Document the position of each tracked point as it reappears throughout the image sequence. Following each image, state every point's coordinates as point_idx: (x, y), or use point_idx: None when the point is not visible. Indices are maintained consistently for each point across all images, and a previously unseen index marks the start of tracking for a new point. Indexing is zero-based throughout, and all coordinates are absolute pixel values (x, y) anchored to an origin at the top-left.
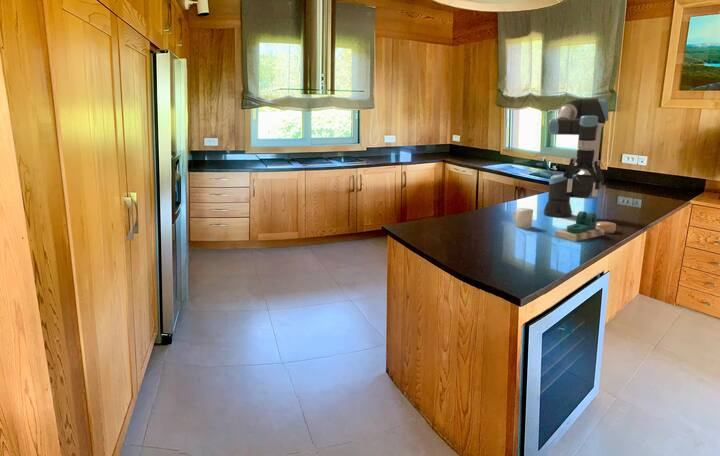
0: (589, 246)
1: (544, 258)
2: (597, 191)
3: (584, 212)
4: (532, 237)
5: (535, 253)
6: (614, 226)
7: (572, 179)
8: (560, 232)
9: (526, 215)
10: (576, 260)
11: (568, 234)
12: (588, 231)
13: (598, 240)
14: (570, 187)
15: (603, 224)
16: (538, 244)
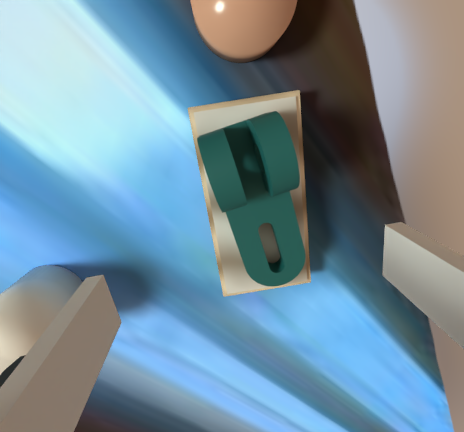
0: (370, 275)
1: (373, 428)
2: (438, 242)
3: (239, 178)
4: (207, 351)
5: (335, 424)
6: None
7: (6, 423)
8: (247, 292)
9: None
10: (426, 384)
11: (281, 286)
12: (294, 195)
13: (339, 190)
14: (90, 331)
15: (255, 31)
16: (278, 379)
